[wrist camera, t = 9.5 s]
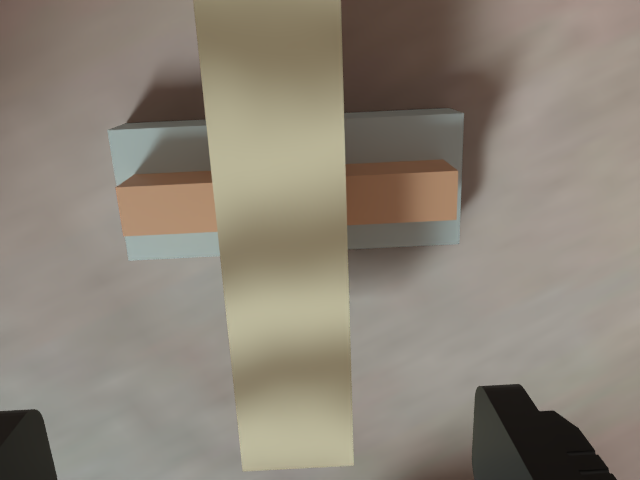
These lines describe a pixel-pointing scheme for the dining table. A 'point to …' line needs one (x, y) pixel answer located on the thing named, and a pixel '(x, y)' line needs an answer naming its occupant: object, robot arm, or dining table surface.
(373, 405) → the dining table surface
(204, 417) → the dining table surface
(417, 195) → the fulcrum
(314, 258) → the batten
